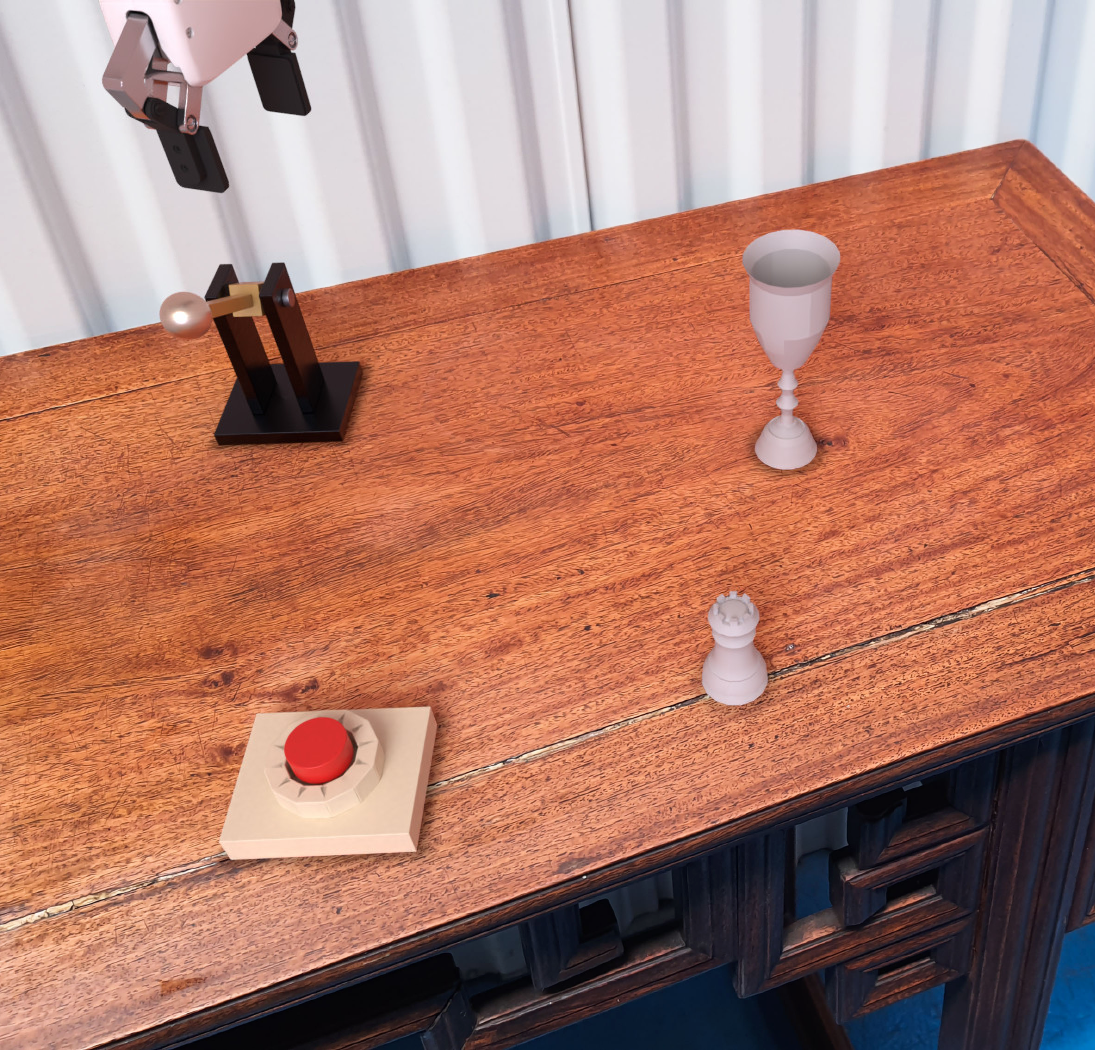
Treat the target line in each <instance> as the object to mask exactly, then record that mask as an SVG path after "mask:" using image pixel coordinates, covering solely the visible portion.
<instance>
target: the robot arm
mask: <svg viewBox="0 0 1095 1050" xmlns="http://www.w3.org/2000/svg"><path fill="white" fill-rule="evenodd" d="M97 2H98V4H99V7H100V9H101V13H102V16H103V19H104V22H105V25H106V27H107V31H108V33H109V36H110V39H111V41H112V44H113V47H114V49H113V51H112V54H111V56H110V58H109V61H108V63H107V65H106V67H105V70H104V72H103V74H102V78H101V83H102V84H101V85H102V87H103V89H104V90H105V91H106V92H107V93H108V94H109V95H110V96H111V97H112V98H113V99H114V100H115V101H116V102H117V103H118V104H119V106H121V107H122V108H124V112H125V114H126V115H127V116H128V117H130V118H131V119H133V120H135V121H137V122H139V123H142V124H143V126H144V127H145V128H146V129H148V130H154V131H155V132H156V134H157V136H158V140H159V141H160V143H161V144H160V145H161V147H162V149H163V151H164V154H165V157H166V159H167V161H168V164H169V167H170V169H171V172H172V174H173V176H174V179H175V182H176V183H177V185H178V186H180V187H181V188H184V189H189V190H196V191H202V192H203V191H204V192H208V193H209V192H210V193H217V194H223V193H225V192H226V191H227V190H228V189H229V188H230V181H229V178H228V174H227V172H226V170H225V167H224V164H223V162H222V158H221V156H220V153H219V151H218V148H217V144H216V141H215V139H214V137H213V134H212V130H211V129H210V127H209V126H205V125H200V119H201V111H202V101H203V100H202V98H203V88H204V86H206V85H208V84H210V83H211V82H213V81H214V80H216V79H217V78H218V77H219V76H221V75H222V74H224V73H225V72H226V71H227V70H228V69H230V68H231V67H232V66H234V65H235V64H236V63H237V62H238V61H240V60H241V59H242V58H244V56H246V58H247V61H248V65H249V68H250V71H251V74H252V77H253V80H254V83H255V86H256V89H257V92H258V96H259V99H260V102H261V104H262V105H261V106H262V108H263V109H264V110H265V111H267V112H270V113H278V114H284V115H293V116H299V117H307V116H308V115H309V114H310V113H311V112H312V105H311V102H310V98H309V94H308V91H307V88H306V85H305V80H304V77H303V74H302V70H301V67H300V63H299V60H298V56H297V53H296V52H294V51H295V50H297V48H298V45H299V38H298V34H297V32H296V31H295V30H294V29H293V27H294V19H295V13H296V8H297V7H296V1H295V0H98V1H97ZM292 51H293V52H292ZM170 63H171V64H172V65H173V66H174V67H175V68H179V69H180V71H174V70H168V65H169V64H170ZM169 86H170V87H179V94H178V104H177V105H178V106H175V105H173V104H171V103H169V102H167V99H168V89H169Z"/></svg>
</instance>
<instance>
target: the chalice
mask: <svg viewBox="0 0 1095 1050" xmlns="http://www.w3.org/2000/svg"><path fill="white" fill-rule="evenodd" d="M741 262H742V263H741V264H742V266H743V268H744V269H745V271H746V274H747V275H748V277H749V322H750V324H751V326H752V329H753V331H754V334H755V336H756V339H757V341H758V343H759V346H760V347H761V348H762V350H763V352H764V353H765V355H766V356H767V358H768V360H769V361H770V363H771V364H772V366H773V367H775V368H776V369H778V370H781V371H782V372H781V376H780V379H779V380H777V386H778V388H779V389H780V391H781V394H780V396H778V397H777V398H776V400H775V404H776V406H777V407H778V408H779V409H780V413H781V414H780V415H777V416H775V417H773V418H772V419H771V420H769V421H768V422H767V423H766V424H765V426H764V427H763V430H762V431H761V433H760V435H759V437H757V440H756V442H755V443H754V444H755V445H754V453H755V454H756V456H757V459H758V460H760V461H761V462H762V463H763V464H764V465H766V466H769V467H770V468H772V469H776V470H777V469H778V470H784V471H785V470H796V469H800V468H803V467H804V466H807V465H808V464H810V463H811V462H812V461H813V460H814V459H815V458H816V455H817V453H818V445H817V442H816V441H815V439H814V437H813V434H812V432H811V431H810V428H809V426H808V425H807V423H806V422H805V421H804V420H802V419H801V418H799V417H797V416H795V415H794V414H793V412H794V410H795V408H797V406H798V405H799V399H798V397H796V396H795V394H794V391H795V389H796V388H797V387H798V385H799V381H798V380H797V378H796V376H795V370H798V369H800V368H802V367H803V366H804V365H805V364H806V363H807V361H808V359H810V357H811V355H812V353H814V350H815V349H816V347H817V346H818V344H819V342H820V341H821V338H822V336H823V334H824V332H825V329H826V327H827V326H828V323H829V321H830V318H831V306H832V290H833V289H832V287H833V286H832V285H833V276H834V274H835V273H836V271H837V269H838V267H839V265H840V263H841V252H840V250H839V248H838V247H837V245H836V244H835V243H834V242H833V241H831V239H829V238H828V237H826V236H825V235H822V234H819V233H817V232H814V231H810V230H805V229H804V230H802V229H782V230H776V231H771V232H768V233H766V234H764V235H762V236H759V237H757V238H755V239H754V240H753V241H751V242H750V244H748V245H747V246H746V248H745V249H744V251H743V253H742V260H741Z"/></svg>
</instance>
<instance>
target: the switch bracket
mask: <svg viewBox="0 0 1095 1050" xmlns="http://www.w3.org/2000/svg"><path fill="white" fill-rule="evenodd" d="M236 283H240V280H239V279H238V276H237V273H236V270H235V268H234V265H233V263H220V264H219V265H218V267H217V269H216V271H215V273H214V275H213V277H212V280H211V282H210V284H209V286H208V288H207V290H206V293H205V294H204V297H203V299H204V300H205V301H206V302H208V301H212V300H216V299H220V298H224V297H228V296H230V291H229V285H231V284H236ZM259 299H260V301H261V304H262V307H263V310H264V312H265V315H264V316H265V318H266V320H267V324H268V327H269V329H270V331H271V334H272V337H273V338H274V342H275V345H276V347H277V350H278V353H279V356H280V358H281V361H282V363H271V362H270V360H269V358H268V354H267V352H266V349H265V346H264V344H263V341H262V338H261V336H260V334H259V331H258V328H257V326H256V322H255V319H254V317H253V316H249V317H233V313H230V314H226V315H223V316H219V317H215V318H212V321H213V322H214V324H215V327H216V330H217V332H218V335H219V336H220V340H221V342H222V344H223V347H224V349H225V352H226V354H227V356H228V359H229V362H230V364H231V366H232V368H233V371H234V373H235V376H236V379H235V381H234V383H233V386H232V388H231V391H230V393H229V396H228V399H227V401H226V403H225V406H224V408H223V411H222V414H221V416H220V418H219V421H218V423H217V425H216V428H215V431H214V433H213V437H214V439H215V441H216V443H217V445H218V446H245V445H247V446H249V445H277V444H278V445H279V444H280V445H281V444H307V443H335V442H336V443H337V442H338V443H340V442H343V441H344V438H345V434H346V431H347V427H348V424H349V421H350V418H351V414H352V410H353V407H354V404H355V400H356V396H357V394H358V390H359V386H360V383H361V380H362V376H363V373H364V371H363V367H362V365H361V362H360V361H359V360H357V361H356V360H355V361H353V360H351V361H322V362H321V361H319V359H318V356H317V353H316V351H315V347H314V344H313V341H312V339H311V336H310V333H309V329H308V327H307V324H306V321H305V318H304V315H303V312H302V309H301V307H300V304H299V303H300V302H299V301H298V298H297V295H296V292H295V289H294V286H293V283H292V281H291V278H290V275H289V271H288V268H287V266H286V262H272V263H271V265H270V267H269V269H268V272H267V274H266V276H265V279H264V283H263V286H262V288H261V291H260V293H259Z"/></svg>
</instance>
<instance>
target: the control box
mask: <svg viewBox="0 0 1095 1050" xmlns="http://www.w3.org/2000/svg"><path fill="white" fill-rule="evenodd" d="M318 717H328V718H332V719H335V720H337V721H339V722H340V723H341V724H342V725H343V726H344V728H345V729H346V732H347V734H348V736H349V738H350V741H351V743H352V745H353V749H354V754H353V758H352V761H351V763H350V765H349V767H348V768H347V769H346V770H345V771H344V772H343V773H342V774H341V775H340V776H338V777H337V778H335V779H333V780H331V781H329V782H325V783H321V784H311V783H306V782H304V781H302V780H300V779H299V778H297V777H296V775H295V774H294V772H293V770H292V768H291V766H290V765H289V763H288V761H287V759H286V757H285V754H284V746H285V742H286V739H287V737H288V736H289V734H290V733H291V732H292V731H293V730H294V729H295V728H296V727H297V726H298V725H300V724H301V723H303V722H305V721H307V720H310V719H313V718H318ZM437 731H438V723H437V721H436V718H435V715H434V712H433V709H432V706H407V707H406V706H405V707H382V708H380V707H379V708H360V709H359V708H358V709H357V708H356V709H346V708H345V709H321V710H308V711H307V710H306V711H284V712H283V711H282V712H281V711H280V712H279V711H278V712H258V713H256V714H255V717H254V720H253V725H252V727H251V731H250V734H249V737H248V741H247V745H246V748H245V752H244V755H243V759H242V761H241V764H240V768H239V772H238V774H237V775H238V776H237V778H236V782H235V785H234V789H233V792H232V796H231V799H230V803H229V806H228V809H227V812H226V815H225V820H224V823H223V825H222V830H221V832H220V837H219V840H218V843H219V844H220V846H221V847H222V849H223V851H224V852H225V854H226V855H227V857H228V858H229V859H230V860H231V861H233V860H234V861H235V860H236V861H237V860H257V859H258V860H259V859H279V858H281V859H283V858H302V857H303V858H304V857H324V856H325V857H326V856H327V857H328V856H350V855H369V854H370V855H371V854H372V855H373V854H392V853H416V852H417V851H418V845H419V838H420V833H421V827H422V822H423V815H424V809H425V803H426V797H427V790H428V784H429V779H430V772H431V766H432V761H433V755H434V748H435V742H436V736H437Z"/></svg>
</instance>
